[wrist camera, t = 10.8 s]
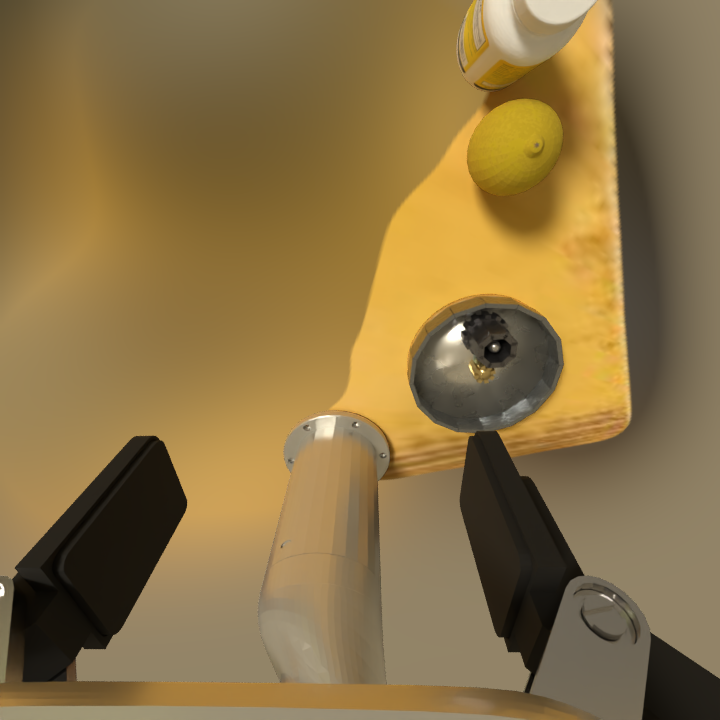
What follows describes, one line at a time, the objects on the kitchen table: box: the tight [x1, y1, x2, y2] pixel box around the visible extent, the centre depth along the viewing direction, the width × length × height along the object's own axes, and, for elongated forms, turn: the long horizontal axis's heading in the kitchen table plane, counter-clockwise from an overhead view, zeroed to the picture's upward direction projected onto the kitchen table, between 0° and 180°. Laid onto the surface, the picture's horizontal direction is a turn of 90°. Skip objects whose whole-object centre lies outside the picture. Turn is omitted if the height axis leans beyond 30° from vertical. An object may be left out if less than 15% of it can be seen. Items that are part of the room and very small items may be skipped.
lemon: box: [467, 98, 563, 196], centre depth 23 cm, size 6×6×8 cm
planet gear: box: [461, 311, 518, 368], centre depth 30 cm, size 4×4×4 cm
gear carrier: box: [407, 294, 564, 433], centre depth 33 cm, size 14×14×5 cm
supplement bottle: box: [457, 0, 597, 92], centre depth 19 cm, size 5×5×10 cm
